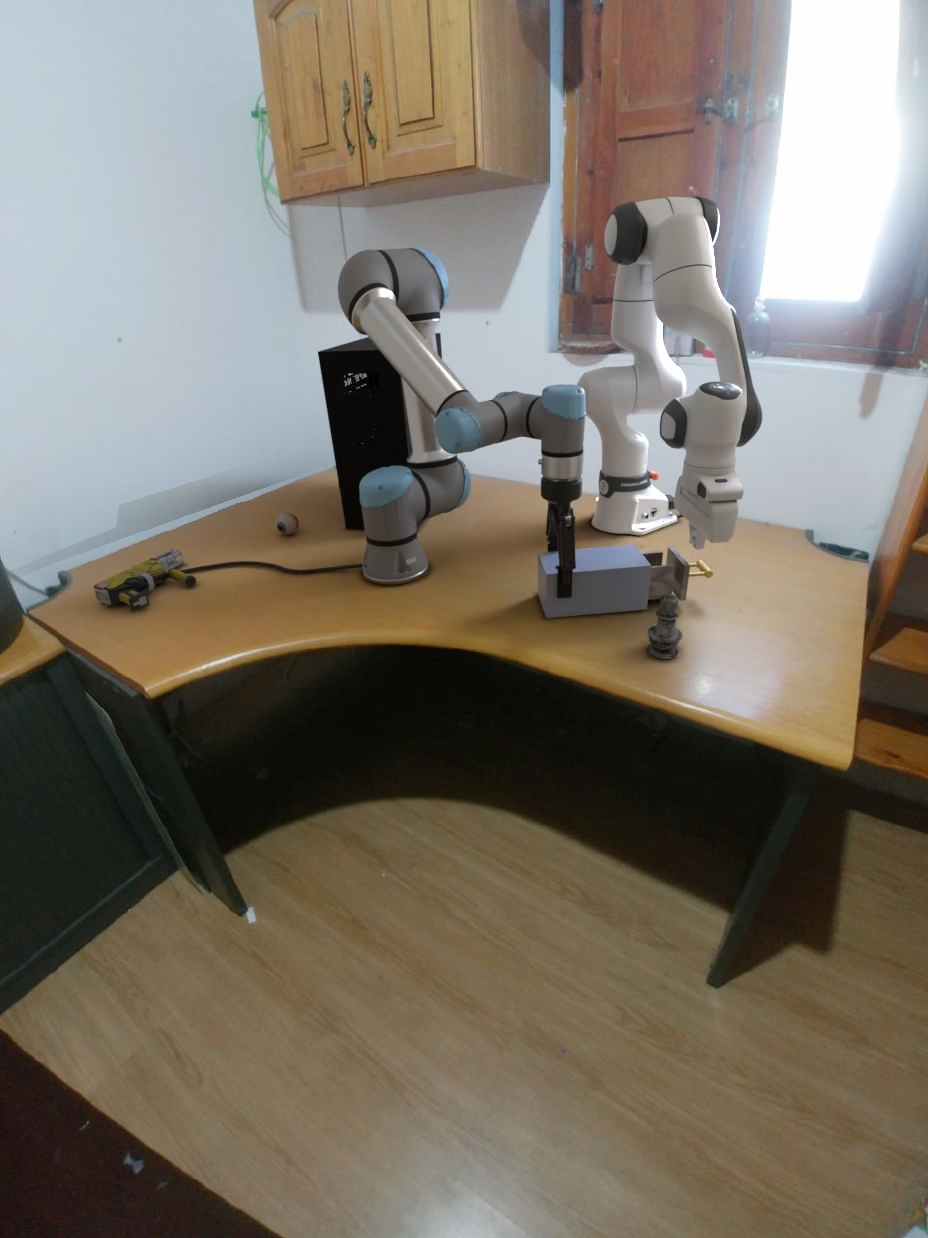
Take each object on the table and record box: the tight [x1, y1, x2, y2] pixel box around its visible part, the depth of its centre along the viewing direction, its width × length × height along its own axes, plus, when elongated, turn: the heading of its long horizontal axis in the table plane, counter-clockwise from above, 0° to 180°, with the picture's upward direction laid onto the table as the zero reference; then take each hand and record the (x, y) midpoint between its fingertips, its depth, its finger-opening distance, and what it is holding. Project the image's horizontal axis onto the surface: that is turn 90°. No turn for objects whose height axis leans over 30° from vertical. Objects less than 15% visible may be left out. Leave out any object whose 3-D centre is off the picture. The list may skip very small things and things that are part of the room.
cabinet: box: [537, 544, 651, 619], centre depth 121 cm, size 20×10×10 cm, turn 93°
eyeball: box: [275, 511, 300, 536], centre depth 163 cm, size 6×6×6 cm
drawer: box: [641, 546, 714, 602], centre depth 121 cm, size 24×9×8 cm, turn 93°
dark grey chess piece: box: [646, 590, 683, 660], centre depth 104 cm, size 6×6×12 cm
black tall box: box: [317, 332, 443, 530], centre depth 169 cm, size 38×20×45 cm, turn 167°
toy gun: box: [93, 548, 197, 612], centre depth 139 cm, size 5×24×15 cm
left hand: (558, 584), depth 121 cm, fingers closed on cabinet, 10 cm apart
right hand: (696, 546), depth 118 cm, fingers closed
